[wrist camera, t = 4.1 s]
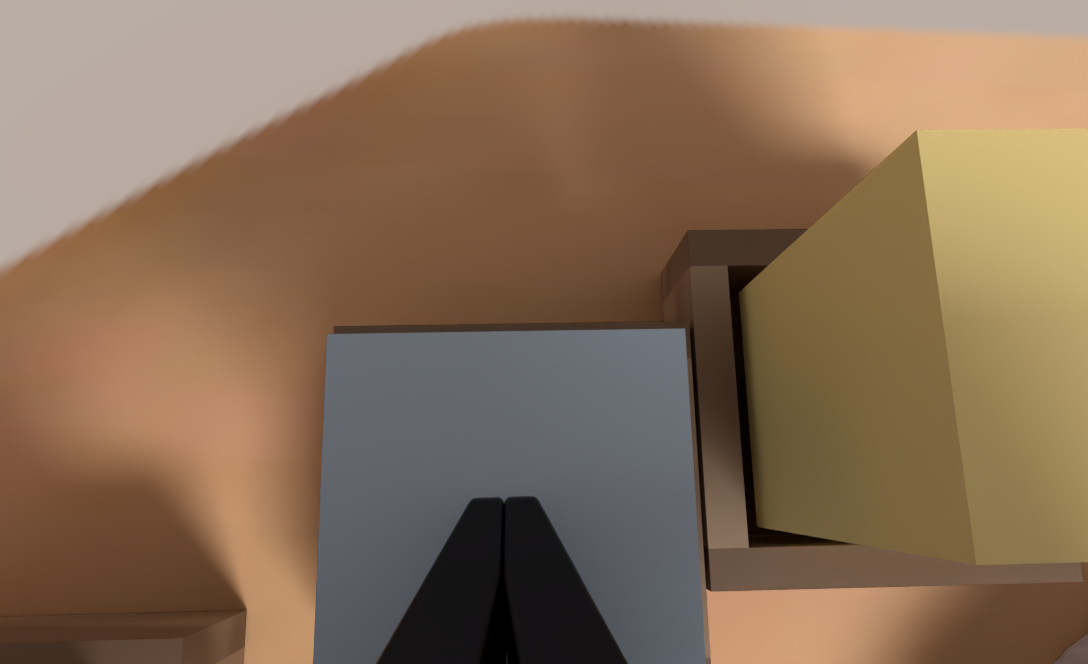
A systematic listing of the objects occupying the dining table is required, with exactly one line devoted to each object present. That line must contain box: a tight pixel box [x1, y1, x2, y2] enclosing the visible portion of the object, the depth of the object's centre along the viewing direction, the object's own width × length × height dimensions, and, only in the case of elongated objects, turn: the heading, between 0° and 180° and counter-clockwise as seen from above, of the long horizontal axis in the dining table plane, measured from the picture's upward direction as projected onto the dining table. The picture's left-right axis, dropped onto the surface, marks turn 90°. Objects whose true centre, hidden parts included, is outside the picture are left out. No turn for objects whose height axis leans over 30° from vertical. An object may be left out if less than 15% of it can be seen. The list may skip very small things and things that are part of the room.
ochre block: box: [739, 129, 1088, 565], centre depth 12 cm, size 5×5×8 cm
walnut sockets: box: [0, 229, 1084, 664], centre depth 16 cm, size 15×25×3 cm, turn 91°
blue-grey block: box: [313, 329, 706, 664], centre depth 13 cm, size 5×5×8 cm
